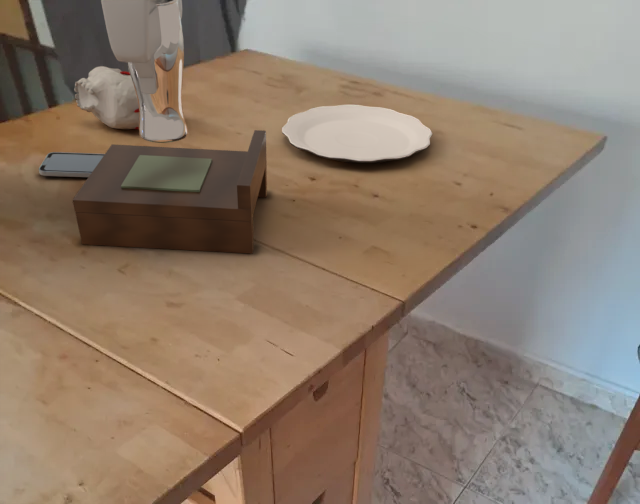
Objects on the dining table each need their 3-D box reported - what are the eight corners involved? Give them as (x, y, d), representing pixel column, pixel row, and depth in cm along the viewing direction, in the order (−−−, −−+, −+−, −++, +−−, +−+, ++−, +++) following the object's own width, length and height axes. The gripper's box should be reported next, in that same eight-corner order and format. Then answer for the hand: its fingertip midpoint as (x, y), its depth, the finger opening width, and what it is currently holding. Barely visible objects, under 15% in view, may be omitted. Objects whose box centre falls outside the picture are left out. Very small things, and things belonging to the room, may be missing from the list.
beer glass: (202, 130, 88) (191, -5, 78) (171, 148, 84) (156, 7, 73) (156, 120, 90) (140, -12, 80) (124, 137, 86) (103, -1, 75)
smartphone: (140, 175, 102) (36, 171, 101) (141, 181, 103) (38, 177, 102) (147, 155, 107) (48, 151, 106) (147, 161, 108) (50, 157, 107)
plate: (308, 178, 105) (309, 166, 104) (266, 121, 122) (266, 110, 121) (455, 162, 111) (457, 151, 110) (395, 110, 129) (396, 100, 127)
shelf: (82, 244, 88) (66, 176, 82) (118, 185, 101) (107, 122, 95) (252, 253, 88) (250, 185, 82) (267, 193, 101) (265, 130, 95)
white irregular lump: (75, 119, 118) (156, 116, 126) (99, 140, 112) (184, 135, 119) (70, 61, 113) (155, 62, 120) (95, 80, 106) (184, 79, 114)
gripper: (135, -73, 81) (150, 56, 90) (83, -41, 66) (108, 109, 75) (188, -70, 81) (198, 58, 90) (148, -38, 66) (165, 112, 75)
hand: (157, 82), depth 83 cm, fingers closed on beer glass, 6 cm apart
